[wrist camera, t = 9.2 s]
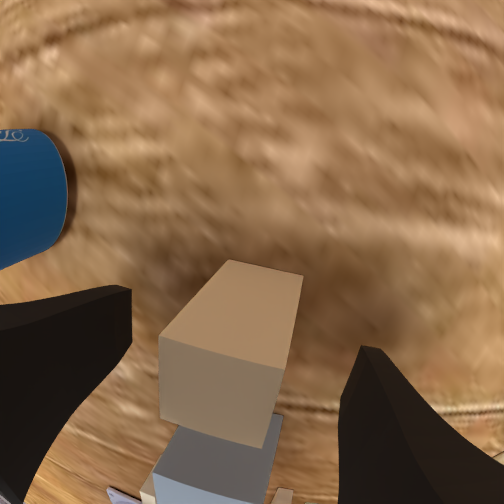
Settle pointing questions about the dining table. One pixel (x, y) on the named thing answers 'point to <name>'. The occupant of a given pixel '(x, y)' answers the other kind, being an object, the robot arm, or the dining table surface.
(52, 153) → the beverage can
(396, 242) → the dining table surface
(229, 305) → the corded block
